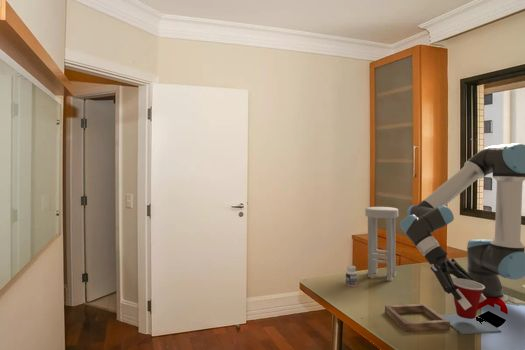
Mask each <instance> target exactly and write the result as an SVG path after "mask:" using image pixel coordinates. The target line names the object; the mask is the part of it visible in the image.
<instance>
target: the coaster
mask: <svg viewBox="0 0 525 350" xmlns="http://www.w3.org/2000/svg"><path fill="white" fill-rule="evenodd" d="M440 315H441V316H443V317H444V318H445V319H447V320H448V321H450V327H451V326H452V327H451V328H453V329H454V330H455V329H456V330H455V331H457V332H458V331H459V334H461V335H470V334H471V335H473V334H488V332H491V333H502V330H501V329H499V327H498V328H497V326H495V325H493V324H491V323H489V322H488V321H486V320H485V321H486V322H485V321H483V322H481V323H482V324H481V323H480V322H479V321H476V317H475V318H474V319H466V318H462V317H460V316H458V315H457V313H453V314H451V313H450V314H440ZM476 316H477V317H478V318H481V317H480V316H478V315H476Z"/></svg>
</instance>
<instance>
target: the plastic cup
mask: <svg viewBox="0 0 525 350" xmlns="http://www.w3.org/2000/svg"><path fill="white" fill-rule="evenodd" d="M451 278H452V281H453V283H454V285H455V288H456V289H459V290H460V292H461V293H462V294H463V295H464V297H465V298H466V299H467V300H468V302H469V303H470V304H471V305H472V306H471V307H469V308H468V309H466V310H464V308H463V307H462V306H461V305H460V303H459V302H458V301H457V300H456V298H455V297H454V296H453V300H454V306H455V310H456V311H455V312H456V314H457V315H458V316H460V317H462V318H466V319H474V318H475V317H476V316H477V313H478V309H479V304H480V303H479V301H480V297H481V294H482V291H483V289H485V286H484V285H482V284H480V283H478V282H475V281H471V280H467V279H462V278H457V277H451ZM456 289H455V290H456Z"/></svg>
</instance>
